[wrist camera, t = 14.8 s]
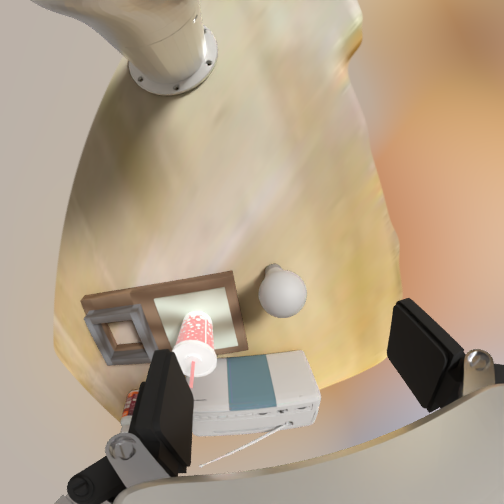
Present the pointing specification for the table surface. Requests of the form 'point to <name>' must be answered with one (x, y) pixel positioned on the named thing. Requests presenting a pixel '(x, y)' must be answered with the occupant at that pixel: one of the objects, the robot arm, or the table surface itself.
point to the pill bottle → (128, 411)
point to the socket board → (165, 316)
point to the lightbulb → (282, 292)
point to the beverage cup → (196, 346)
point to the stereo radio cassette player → (255, 396)
